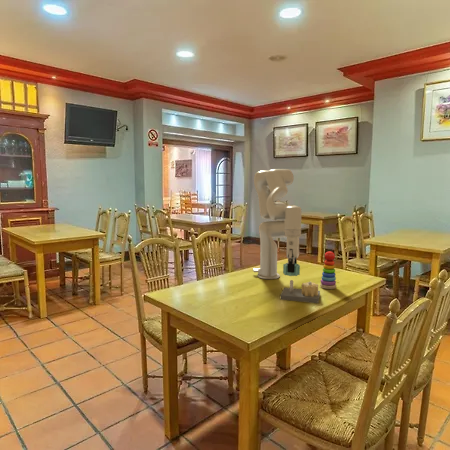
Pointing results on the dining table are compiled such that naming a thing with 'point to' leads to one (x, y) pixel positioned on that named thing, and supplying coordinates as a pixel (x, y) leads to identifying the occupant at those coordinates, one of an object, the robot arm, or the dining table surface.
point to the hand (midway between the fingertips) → (292, 269)
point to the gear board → (301, 293)
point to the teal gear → (297, 272)
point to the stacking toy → (328, 272)
